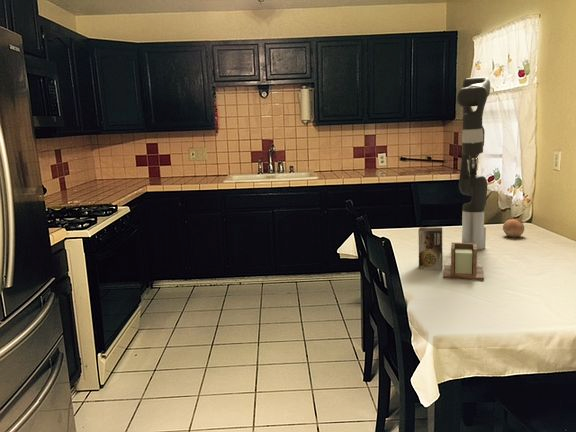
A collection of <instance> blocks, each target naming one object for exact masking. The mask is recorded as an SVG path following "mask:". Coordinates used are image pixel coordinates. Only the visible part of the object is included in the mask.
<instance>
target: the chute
mask: <svg viewBox="0 0 576 432" xmlns="http://www.w3.org/2000/svg"><path fill="white" fill-rule="evenodd" d="M455 249H472V274H462V273H455ZM477 260H478V250H477V245H476V243H462V242H451V244H450V265H444V267H443V268H444V269H443V279H448V280H465V281H467V280H468V281H485V275H484V269H483V266H478V265H477V263H478V261H477Z"/></svg>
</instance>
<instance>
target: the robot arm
mask: <svg viewBox="0 0 576 432" xmlns="http://www.w3.org/2000/svg"><path fill="white" fill-rule="evenodd" d="M490 92H491V81H490V79H489V77H485V76H478V77H468V78H464V80H463V82H462V88H460V89H459V90H458V92H457V95H456V101H457V104H458V105H459V106H460V107H462V127H461V128H462V129H461V132H462V133H461V163H460V170H459V171H460V172H459V179H458V189H459V191H460V194H461V195H464V196H470V197H471V200H470V201H469V202H465V203H463V204H462V211H461V212H462V216H461V218H462V219H461V223H462V225H461V228H462V229H461V243H476V245H477V251H481V250H483V249H485V248H486V241H487V240H486V238H487V237H486V236H487V234H486V233H487V230H486V229H487V228H486V226H485V208H486V204H487V195H488V181H487V178H486V177H485V176H484V175H478V174H477V171H478V168H479V167H478V165H479V158H478V157H479V156H480V154H482V153H484V145H485V134H486V133H485V127H484V126H483V117H484V116H483V115H484V110H485V107H486V104H487V100H488V98H489V95H490ZM472 107H476V109H475V110H473V108H472Z"/></svg>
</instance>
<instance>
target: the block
mask: <svg viewBox="0 0 576 432" xmlns="http://www.w3.org/2000/svg"><path fill="white" fill-rule="evenodd" d="M455 273H462V274H472V249H455Z"/></svg>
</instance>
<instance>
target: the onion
mask: <svg viewBox="0 0 576 432" xmlns="http://www.w3.org/2000/svg"><path fill="white" fill-rule="evenodd" d="M502 225H503V226H502V230H503V232H504V234H505V235H506V236H507V238H518V237H521V236H522V235H523V234H524V231H525V225H524V222H523V221H522V220H521V219H520V218H512V219H511V218H510V219H507V220H506V221H505V222H504V223H503V224H502Z"/></svg>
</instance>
